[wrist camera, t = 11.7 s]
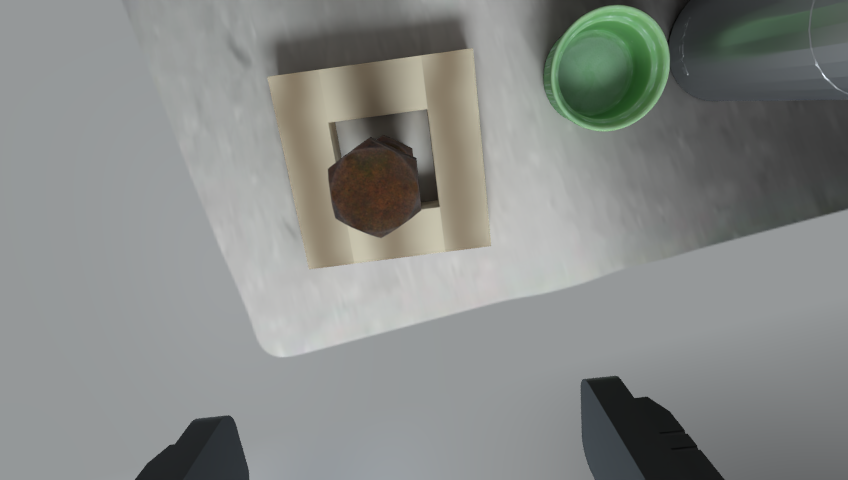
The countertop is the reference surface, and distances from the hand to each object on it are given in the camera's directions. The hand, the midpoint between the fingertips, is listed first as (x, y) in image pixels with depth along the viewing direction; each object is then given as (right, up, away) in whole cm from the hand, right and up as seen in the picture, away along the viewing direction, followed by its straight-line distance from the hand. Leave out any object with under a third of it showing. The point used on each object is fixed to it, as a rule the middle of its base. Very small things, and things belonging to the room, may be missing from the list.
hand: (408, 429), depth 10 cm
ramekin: (+14, +18, +28) cm, 37 cm away
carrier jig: (-3, +11, +29) cm, 32 cm away
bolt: (-3, +11, +30) cm, 32 cm away
